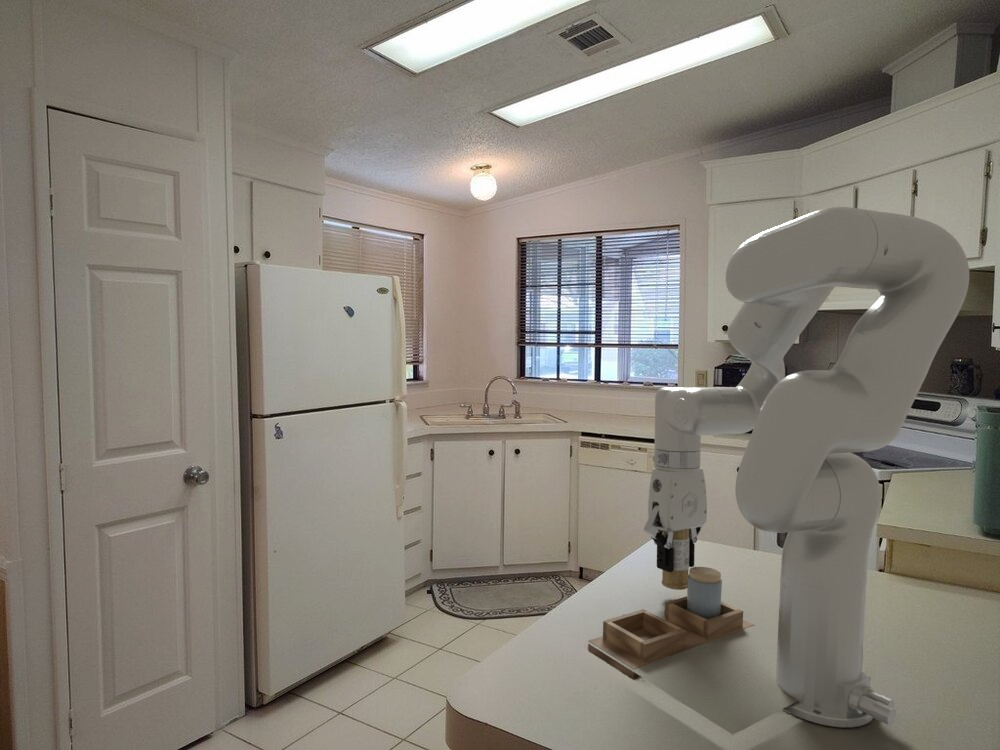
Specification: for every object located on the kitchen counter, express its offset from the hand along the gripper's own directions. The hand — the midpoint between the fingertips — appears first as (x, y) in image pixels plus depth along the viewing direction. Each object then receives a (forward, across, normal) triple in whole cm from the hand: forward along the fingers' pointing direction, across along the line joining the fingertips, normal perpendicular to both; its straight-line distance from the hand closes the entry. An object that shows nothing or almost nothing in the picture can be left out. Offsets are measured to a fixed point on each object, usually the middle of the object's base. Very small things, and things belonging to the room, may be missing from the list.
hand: (675, 566), depth 103 cm
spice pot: (+6, -3, -8) cm, 11 cm away
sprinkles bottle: (+4, 0, 0) cm, 4 cm away
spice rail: (+7, -10, -8) cm, 15 cm away
